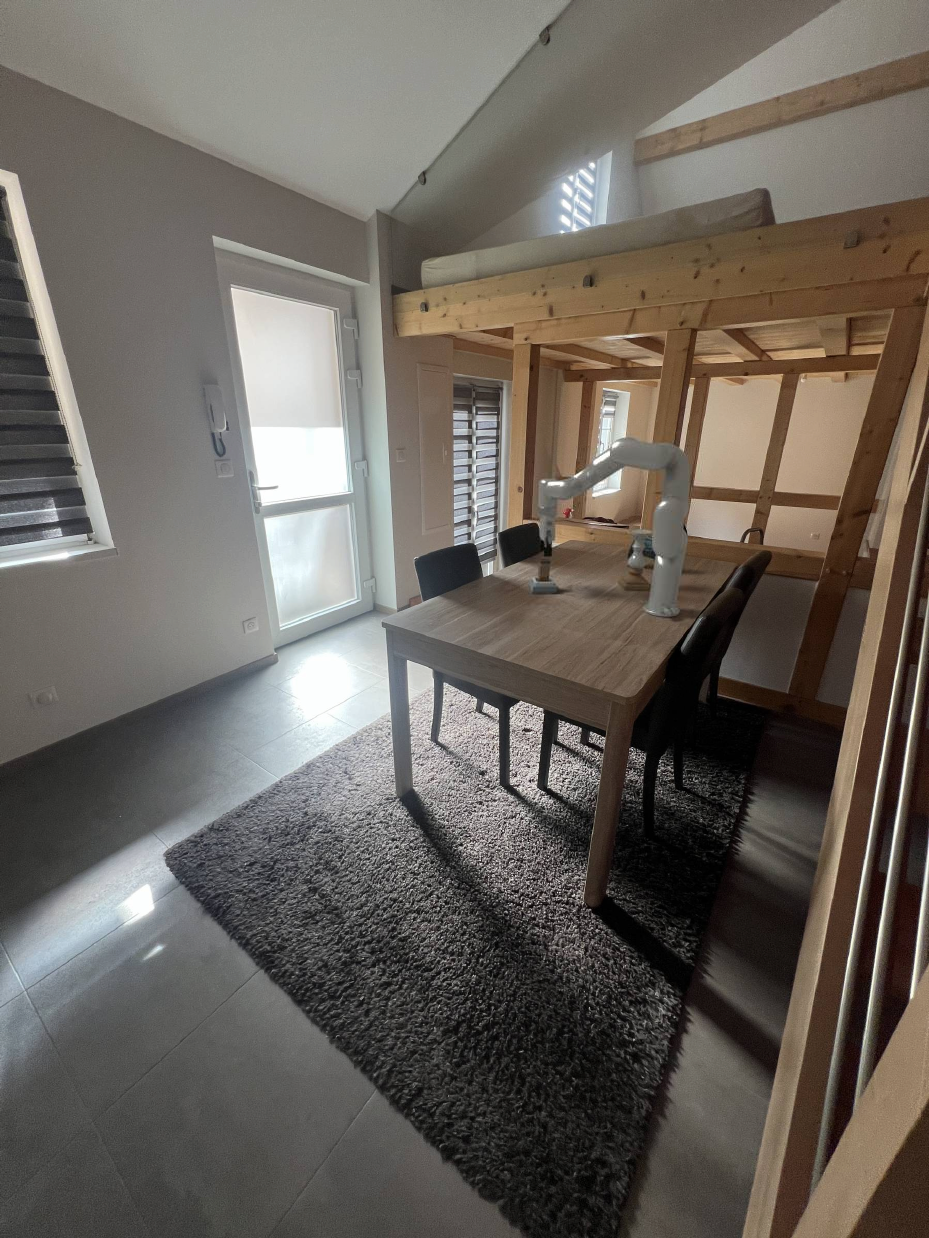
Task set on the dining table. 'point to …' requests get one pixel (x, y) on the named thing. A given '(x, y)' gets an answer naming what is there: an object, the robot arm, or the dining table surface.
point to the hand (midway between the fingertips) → (545, 553)
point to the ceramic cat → (647, 550)
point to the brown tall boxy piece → (543, 570)
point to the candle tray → (542, 586)
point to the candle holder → (636, 563)
